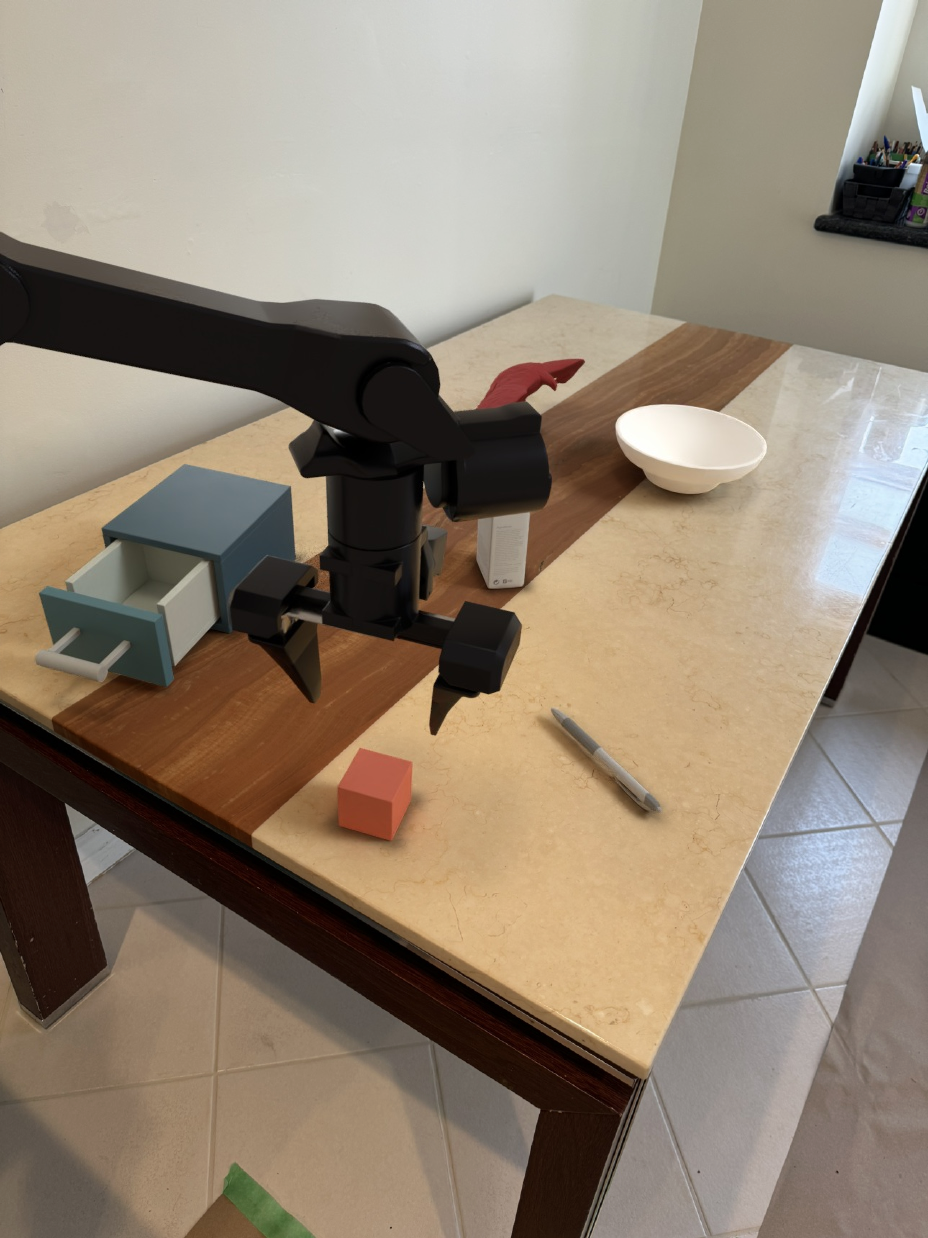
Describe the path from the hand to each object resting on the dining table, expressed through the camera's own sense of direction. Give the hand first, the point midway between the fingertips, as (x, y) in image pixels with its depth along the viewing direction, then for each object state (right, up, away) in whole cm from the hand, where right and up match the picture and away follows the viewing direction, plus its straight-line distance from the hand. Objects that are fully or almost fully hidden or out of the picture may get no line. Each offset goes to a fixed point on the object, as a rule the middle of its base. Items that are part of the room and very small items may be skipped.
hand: (374, 715), depth 62 cm
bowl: (+35, +25, +55) cm, 70 cm away
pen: (+18, -6, +12) cm, 22 cm away
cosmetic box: (+10, +12, +35) cm, 38 cm away
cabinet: (-20, +11, +30) cm, 38 cm away
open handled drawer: (-24, +4, +20) cm, 31 cm away
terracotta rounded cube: (-1, -8, +6) cm, 11 cm away
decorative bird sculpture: (+13, +34, +65) cm, 75 cm away
